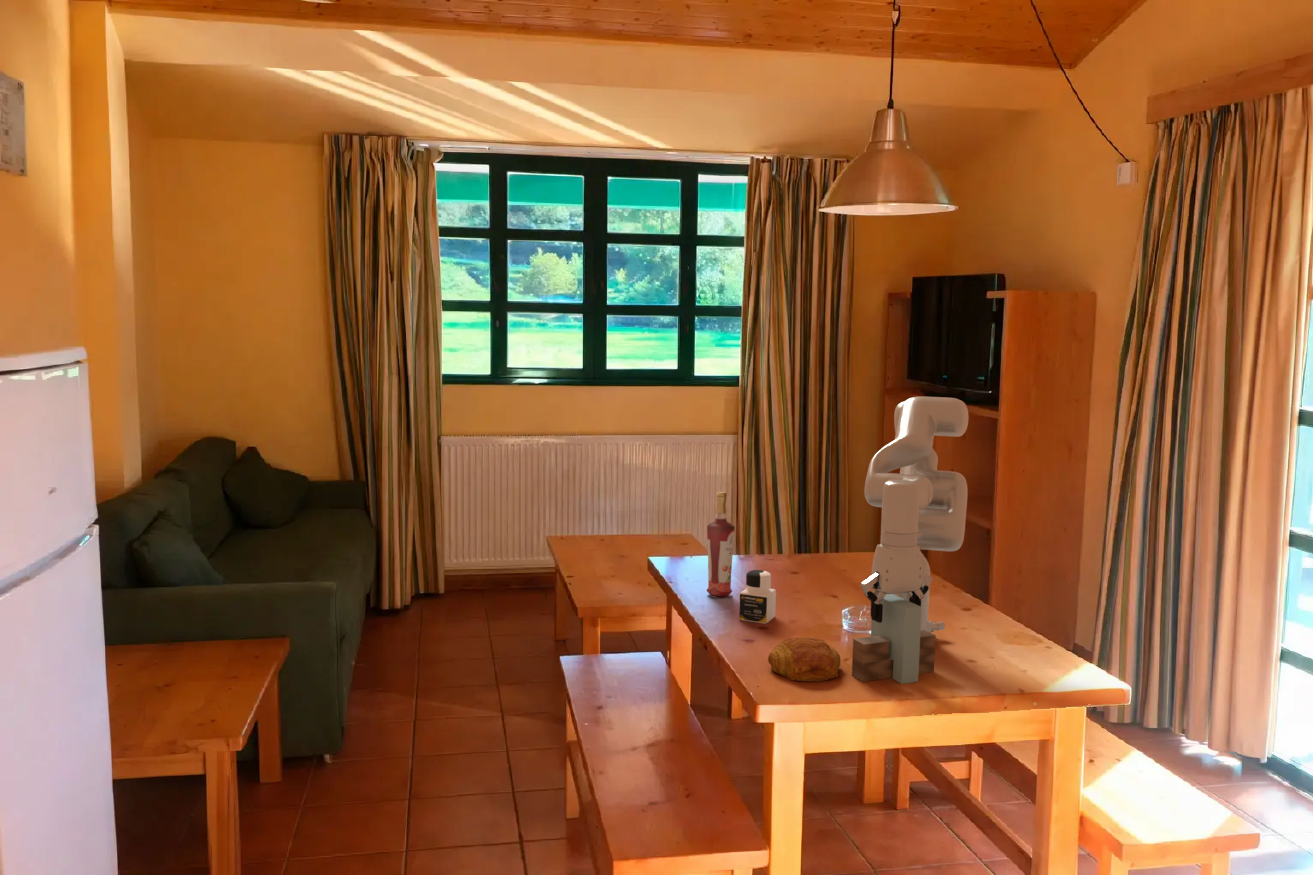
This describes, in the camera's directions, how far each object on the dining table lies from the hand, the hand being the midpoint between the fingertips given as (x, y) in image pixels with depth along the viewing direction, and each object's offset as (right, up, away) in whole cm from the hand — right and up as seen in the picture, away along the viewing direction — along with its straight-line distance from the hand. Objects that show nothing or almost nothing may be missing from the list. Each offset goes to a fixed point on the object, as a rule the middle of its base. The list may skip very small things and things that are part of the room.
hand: (895, 618), depth 223 cm
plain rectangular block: (0, -12, +2) cm, 12 cm away
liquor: (-34, -4, +60) cm, 69 cm away
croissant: (-19, -12, +2) cm, 22 cm away
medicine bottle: (-25, -7, +39) cm, 47 cm away
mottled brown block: (0, -12, +1) cm, 12 cm away
